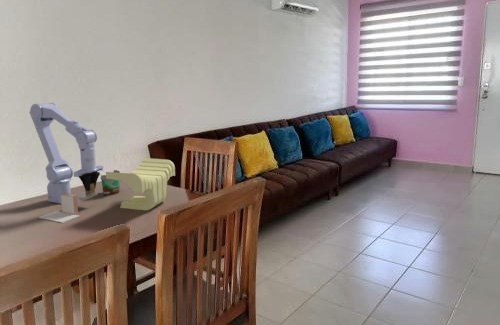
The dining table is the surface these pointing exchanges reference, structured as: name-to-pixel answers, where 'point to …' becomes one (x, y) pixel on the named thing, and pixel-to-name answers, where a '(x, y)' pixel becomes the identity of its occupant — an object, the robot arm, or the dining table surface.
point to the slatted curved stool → (146, 182)
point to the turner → (87, 193)
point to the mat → (59, 217)
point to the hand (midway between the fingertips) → (90, 189)
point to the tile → (69, 203)
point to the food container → (110, 185)
